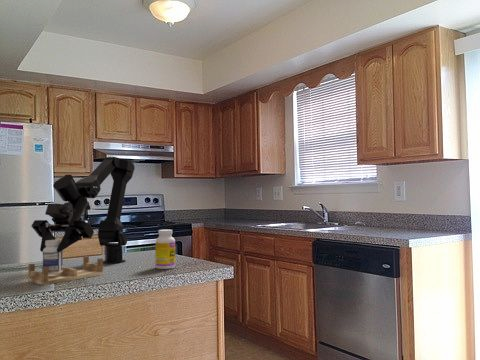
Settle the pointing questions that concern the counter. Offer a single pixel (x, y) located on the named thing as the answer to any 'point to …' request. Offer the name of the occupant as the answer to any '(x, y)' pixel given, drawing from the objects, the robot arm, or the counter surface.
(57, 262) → the pill bottle
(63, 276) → the rack
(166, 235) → the supplement bottle
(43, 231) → the robot arm
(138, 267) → the counter surface
